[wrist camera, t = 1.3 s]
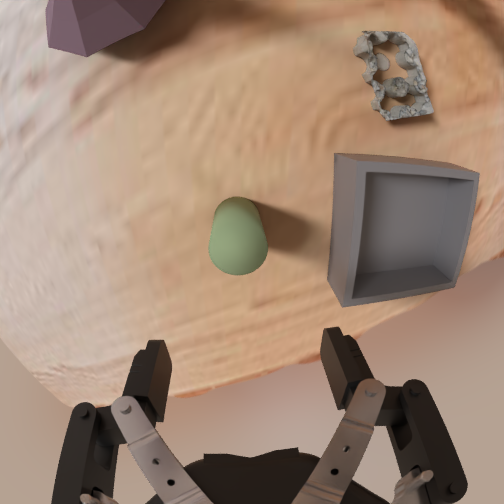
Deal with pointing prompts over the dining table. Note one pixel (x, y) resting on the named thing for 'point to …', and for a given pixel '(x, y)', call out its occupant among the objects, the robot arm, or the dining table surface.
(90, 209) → the dining table surface
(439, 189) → the bin
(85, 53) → the flask
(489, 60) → the dining table surface
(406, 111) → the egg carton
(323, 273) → the dining table surface
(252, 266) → the green capsule
